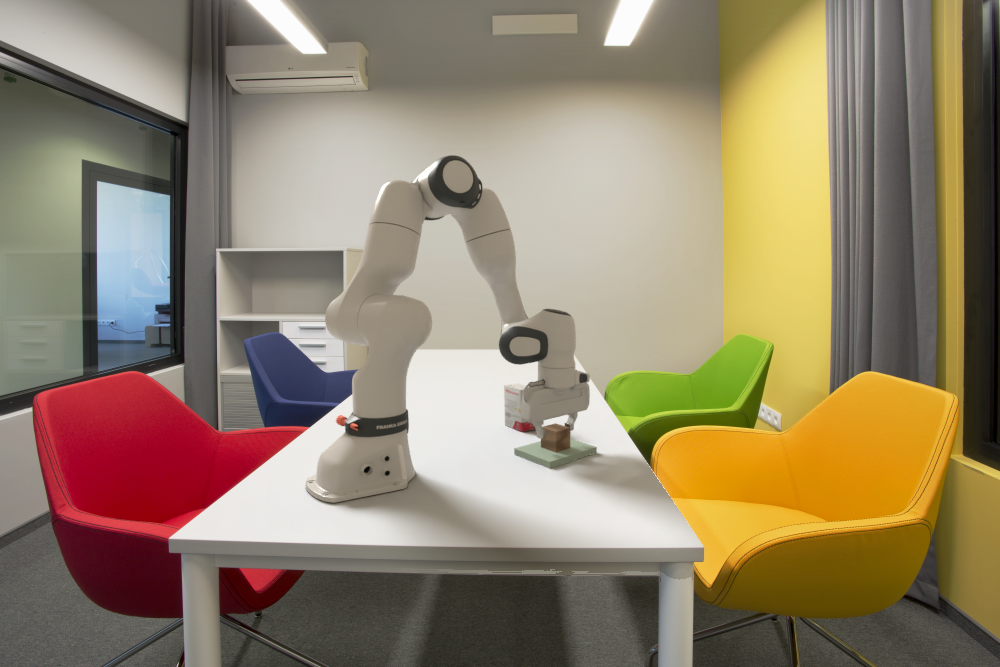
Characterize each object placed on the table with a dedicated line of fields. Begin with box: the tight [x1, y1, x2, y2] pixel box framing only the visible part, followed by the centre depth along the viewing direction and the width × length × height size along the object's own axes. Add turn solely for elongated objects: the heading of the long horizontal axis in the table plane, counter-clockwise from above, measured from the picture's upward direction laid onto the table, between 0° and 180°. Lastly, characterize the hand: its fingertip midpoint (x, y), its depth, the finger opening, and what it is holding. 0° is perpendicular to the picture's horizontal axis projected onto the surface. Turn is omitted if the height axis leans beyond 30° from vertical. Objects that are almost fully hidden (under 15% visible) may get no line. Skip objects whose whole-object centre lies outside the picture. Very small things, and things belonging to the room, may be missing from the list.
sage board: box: [513, 438, 598, 469], centre depth 130 cm, size 16×12×2 cm
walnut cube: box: [540, 422, 572, 452], centre depth 130 cm, size 5×5×5 cm
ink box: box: [503, 383, 536, 433], centre depth 151 cm, size 9×5×12 cm, turn 34°
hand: (555, 434), depth 130 cm, fingers open, 8 cm apart
